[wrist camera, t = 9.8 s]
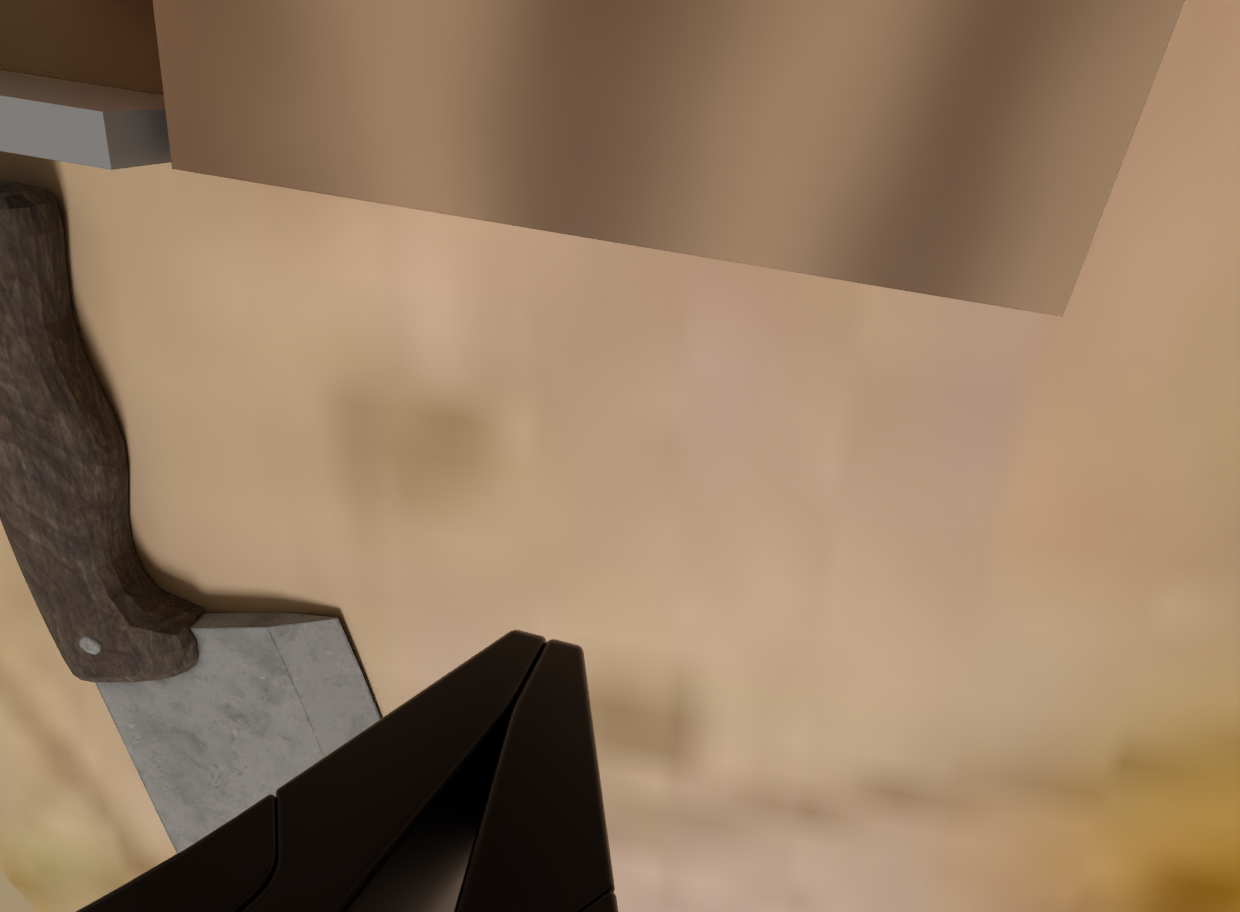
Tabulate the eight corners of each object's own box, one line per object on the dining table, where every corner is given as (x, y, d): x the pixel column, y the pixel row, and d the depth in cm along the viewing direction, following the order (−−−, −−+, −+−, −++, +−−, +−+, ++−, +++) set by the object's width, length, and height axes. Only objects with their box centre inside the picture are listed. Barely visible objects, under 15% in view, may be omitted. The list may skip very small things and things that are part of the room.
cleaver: (-108, 189, 21) (-195, 201, 19) (215, 145, 19) (153, 153, 17) (246, 926, 33) (215, 977, 31) (466, 948, 31) (446, 1004, 29)
